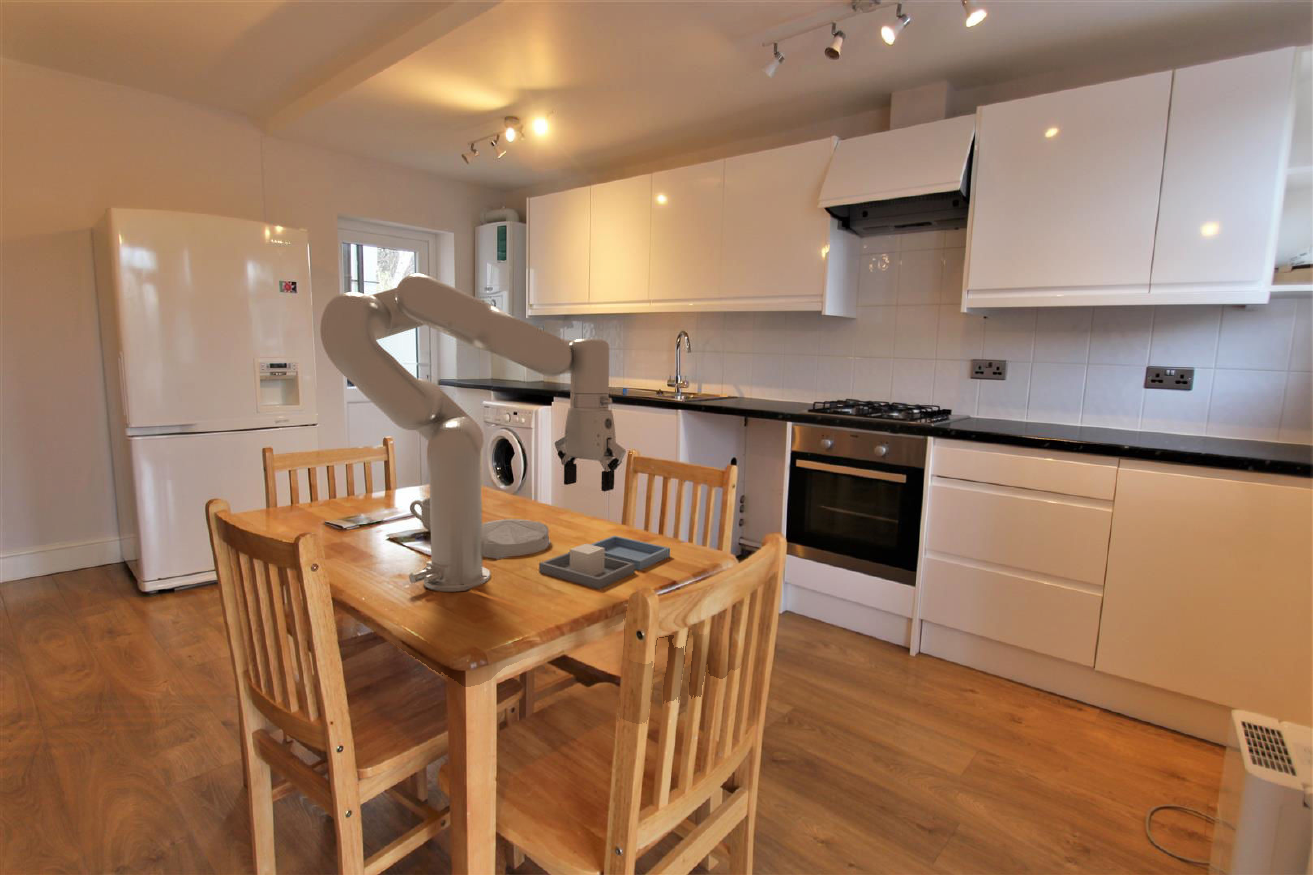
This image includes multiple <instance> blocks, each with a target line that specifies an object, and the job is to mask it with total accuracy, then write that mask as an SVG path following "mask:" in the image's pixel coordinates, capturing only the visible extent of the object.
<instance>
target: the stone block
mask: <svg viewBox="0 0 1313 875" xmlns="http://www.w3.org/2000/svg"><path fill="white" fill-rule="evenodd" d="M590 544H591V543H584V544H581V545H577V546H574V547H572V548H570V549H569V552H570V570H573V571H576V572H580V573H584V574H587V575H591V576H595V575H598V574H600V573H602V572H604V554H605V548H602V547H598V546H594V545H590Z"/></svg>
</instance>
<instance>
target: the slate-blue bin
mask: <svg viewBox="0 0 1313 875" xmlns="http://www.w3.org/2000/svg"><path fill="white" fill-rule="evenodd" d="M589 544H590V545H594V546H598V547H602V548H605V554H604V556H606V557H610V558H614V559H618V560H622V561H626V562H630V563H634V564H635V570H637V571H642V570H644V569H646V568H649V567H650V566H652V565H655V564H657V563H658V562H661V561H663V560H665V559H667V558H670V556H671V547H668V546H663V545H658V544H654V543H650V542H646V541H640V540H635V539H631V538H628V537H622V536H618V535H612V536H609V537H607V538H604V539H601V540H598V541H596V542H592V543H589Z"/></svg>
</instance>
